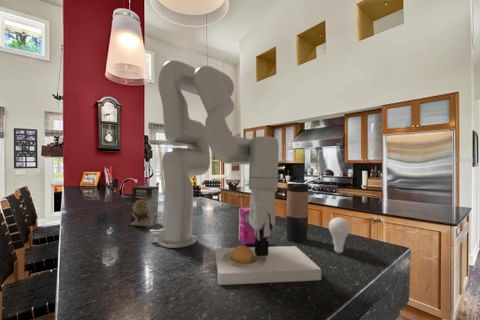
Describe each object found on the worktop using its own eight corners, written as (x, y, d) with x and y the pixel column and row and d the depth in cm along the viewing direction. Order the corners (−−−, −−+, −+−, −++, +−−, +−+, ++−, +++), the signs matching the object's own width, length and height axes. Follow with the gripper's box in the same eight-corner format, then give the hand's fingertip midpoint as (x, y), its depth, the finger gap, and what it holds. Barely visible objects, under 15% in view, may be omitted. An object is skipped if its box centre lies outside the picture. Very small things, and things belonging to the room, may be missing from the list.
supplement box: (238, 240, 84) (238, 207, 84) (253, 239, 86) (254, 207, 86) (243, 246, 79) (244, 210, 79) (260, 244, 80) (260, 210, 81)
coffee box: (130, 225, 100) (131, 186, 101) (139, 221, 107) (140, 185, 107) (150, 226, 99) (151, 187, 99) (158, 223, 105) (159, 186, 105)
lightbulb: (323, 251, 76) (324, 216, 76) (338, 248, 78) (339, 214, 78) (338, 258, 70) (339, 220, 70) (354, 255, 73) (354, 219, 73)
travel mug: (305, 236, 90) (306, 183, 91) (309, 243, 83) (310, 185, 83) (285, 235, 91) (286, 183, 91) (286, 242, 83) (288, 184, 84)
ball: (233, 245, 60) (255, 246, 61) (231, 244, 65) (251, 245, 66) (232, 269, 58) (254, 270, 59) (229, 265, 64) (250, 266, 64)
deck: (218, 284, 53) (219, 273, 53) (215, 256, 69) (215, 248, 69) (321, 280, 56) (321, 269, 56) (295, 254, 72) (295, 246, 72)
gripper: (244, 181, 70) (242, 245, 69) (255, 186, 55) (253, 267, 54) (269, 182, 71) (267, 244, 70) (286, 187, 56) (284, 266, 56)
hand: (261, 254), depth 62 cm, fingers closed
